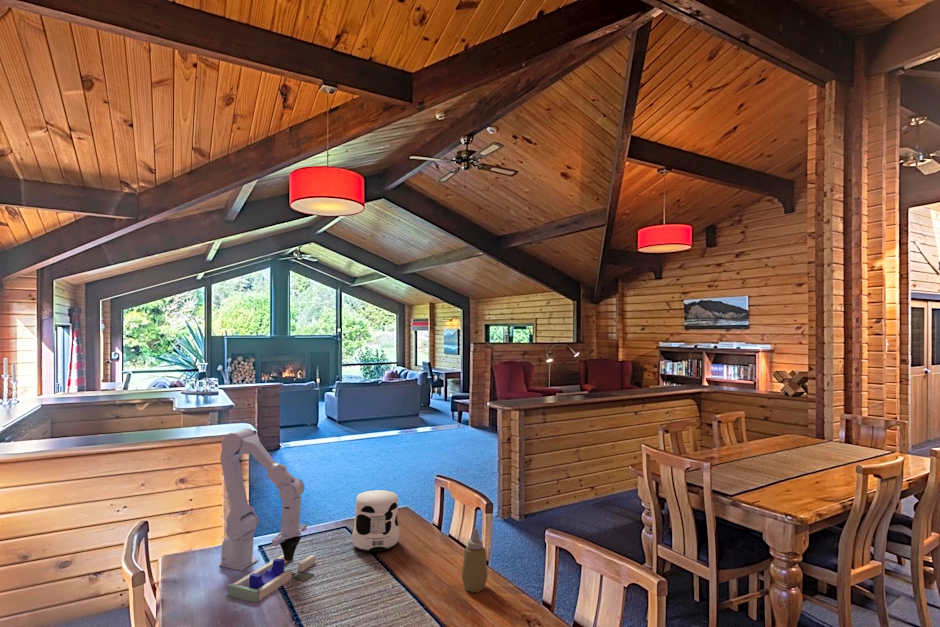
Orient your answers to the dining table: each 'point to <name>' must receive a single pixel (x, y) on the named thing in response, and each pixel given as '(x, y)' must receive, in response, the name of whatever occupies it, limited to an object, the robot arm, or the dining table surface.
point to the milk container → (375, 521)
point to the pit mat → (303, 576)
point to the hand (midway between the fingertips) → (288, 560)
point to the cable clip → (267, 574)
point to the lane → (254, 595)
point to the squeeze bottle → (474, 564)
